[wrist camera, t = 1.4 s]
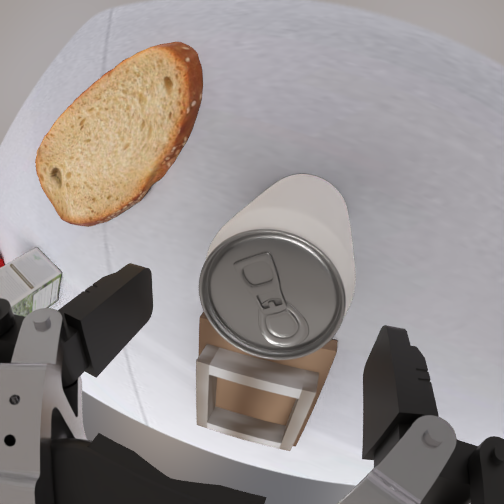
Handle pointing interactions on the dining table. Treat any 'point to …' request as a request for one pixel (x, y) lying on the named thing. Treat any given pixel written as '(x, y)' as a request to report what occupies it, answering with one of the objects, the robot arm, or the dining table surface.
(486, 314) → the dining table surface
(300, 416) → the board
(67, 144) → the slice of bread
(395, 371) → the robot arm
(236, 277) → the can
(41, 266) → the syrup box
